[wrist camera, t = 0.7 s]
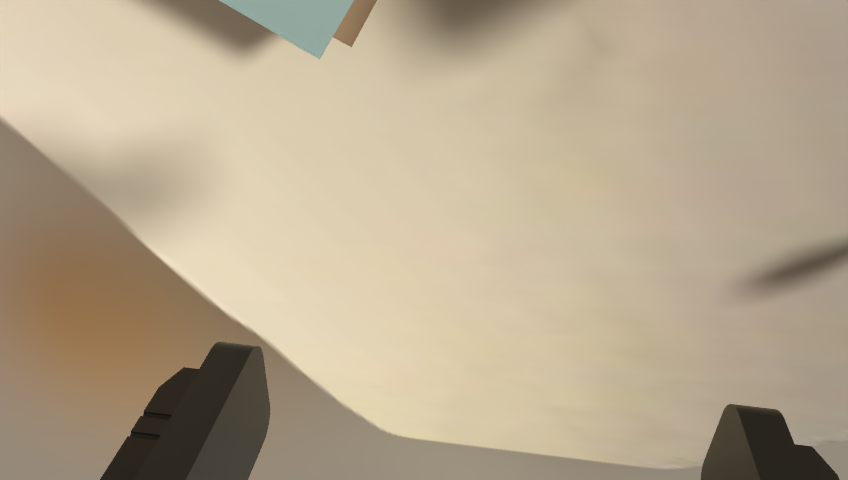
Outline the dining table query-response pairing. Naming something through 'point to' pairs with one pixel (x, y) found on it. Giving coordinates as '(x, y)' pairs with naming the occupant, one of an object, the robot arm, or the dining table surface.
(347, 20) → the tower base
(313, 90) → the dining table surface
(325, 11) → the tower top
